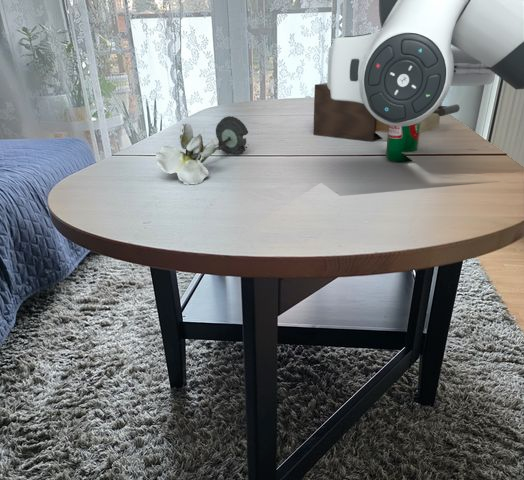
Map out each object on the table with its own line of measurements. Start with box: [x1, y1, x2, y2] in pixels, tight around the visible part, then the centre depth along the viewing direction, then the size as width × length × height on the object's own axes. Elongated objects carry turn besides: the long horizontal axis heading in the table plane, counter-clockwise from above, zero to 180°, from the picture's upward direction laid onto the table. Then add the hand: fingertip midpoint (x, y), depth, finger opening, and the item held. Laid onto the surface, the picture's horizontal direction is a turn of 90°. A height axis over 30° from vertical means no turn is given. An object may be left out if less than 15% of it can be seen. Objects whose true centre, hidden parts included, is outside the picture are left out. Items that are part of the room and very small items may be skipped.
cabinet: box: [312, 82, 384, 143], centre depth 106 cm, size 15×13×10 cm
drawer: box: [375, 102, 461, 134], centre depth 100 cm, size 18×11×8 cm, turn 49°
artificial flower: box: [155, 115, 249, 186], centre depth 82 cm, size 9×22×10 cm, turn 155°
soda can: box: [385, 121, 421, 164], centre depth 82 cm, size 5×5×12 cm
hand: (410, 63), depth 68 cm, fingers open, 8 cm apart
